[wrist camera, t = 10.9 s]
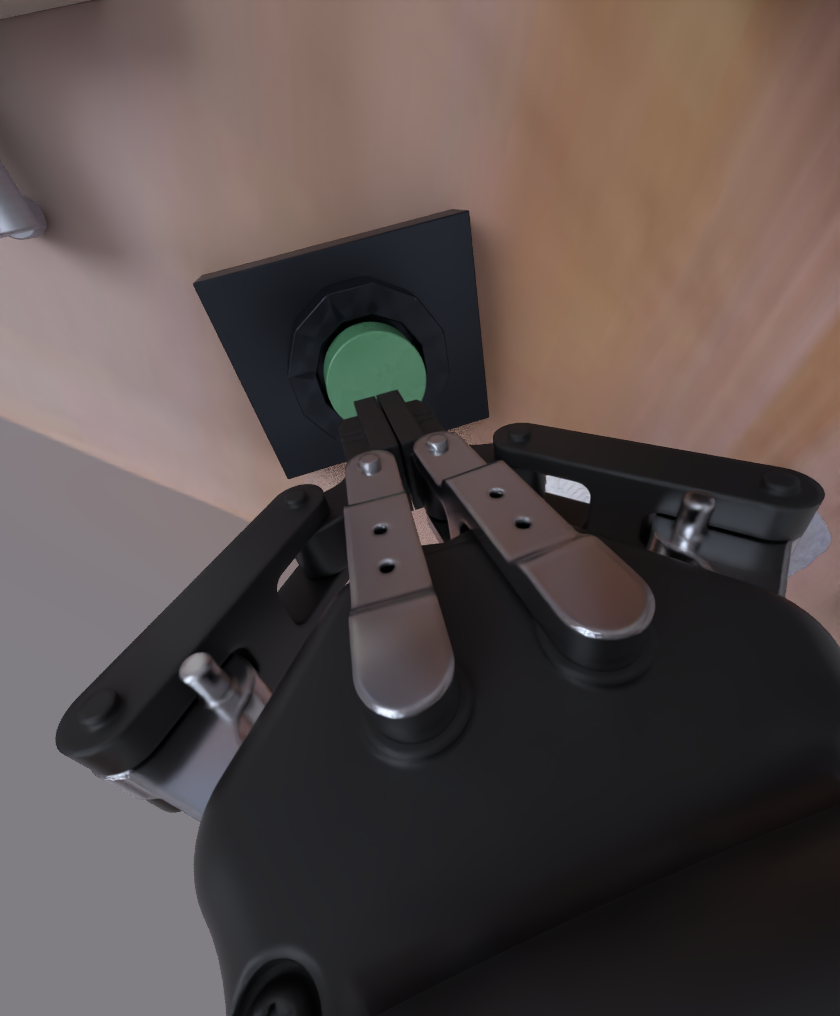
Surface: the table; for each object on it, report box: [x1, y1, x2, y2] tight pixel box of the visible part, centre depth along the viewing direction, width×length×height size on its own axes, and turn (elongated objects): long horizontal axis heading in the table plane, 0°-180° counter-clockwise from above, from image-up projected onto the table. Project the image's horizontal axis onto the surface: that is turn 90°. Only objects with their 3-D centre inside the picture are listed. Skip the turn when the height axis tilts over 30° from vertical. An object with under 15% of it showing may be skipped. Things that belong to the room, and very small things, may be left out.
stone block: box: [788, 511, 831, 577], centre depth 40 cm, size 12×5×10 cm
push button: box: [324, 322, 426, 419], centre depth 19 cm, size 4×4×2 cm
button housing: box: [193, 209, 489, 479], centre depth 21 cm, size 12×10×4 cm
